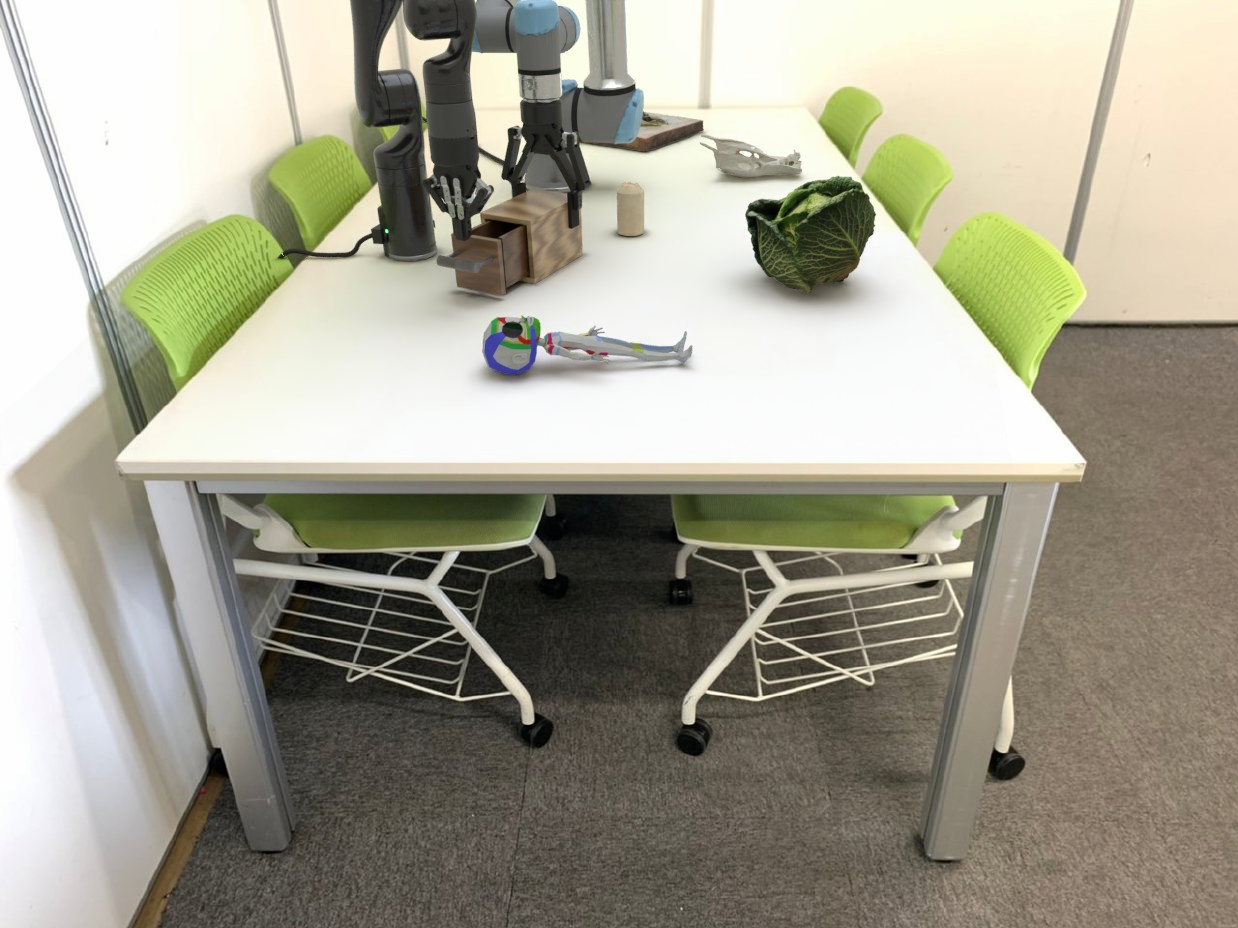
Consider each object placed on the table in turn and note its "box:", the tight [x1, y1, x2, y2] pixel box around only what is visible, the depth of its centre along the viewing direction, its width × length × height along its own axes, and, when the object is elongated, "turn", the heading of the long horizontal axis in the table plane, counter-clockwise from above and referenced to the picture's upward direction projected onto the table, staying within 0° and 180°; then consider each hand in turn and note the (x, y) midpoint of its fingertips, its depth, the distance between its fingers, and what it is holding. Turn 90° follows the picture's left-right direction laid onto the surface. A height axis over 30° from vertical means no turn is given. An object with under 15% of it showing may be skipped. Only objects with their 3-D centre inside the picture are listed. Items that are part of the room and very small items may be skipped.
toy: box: [481, 315, 694, 376], centre depth 131 cm, size 10×8×30 cm
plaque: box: [584, 110, 705, 152], centre depth 257 cm, size 30×7×30 cm
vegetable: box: [744, 175, 877, 294], centre depth 154 cm, size 20×19×20 cm
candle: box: [616, 181, 645, 237], centre depth 181 cm, size 6×6×10 cm
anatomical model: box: [699, 133, 803, 178], centre depth 218 cm, size 15×9×25 cm
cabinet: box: [479, 189, 584, 285], centre depth 166 cm, size 17×11×11 cm, turn 152°
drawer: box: [436, 219, 530, 297], centre depth 157 cm, size 22×10×10 cm, turn 152°
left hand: (463, 239), depth 148 cm, fingers closed
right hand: (547, 222), depth 169 cm, fingers closed on cabinet, 11 cm apart
